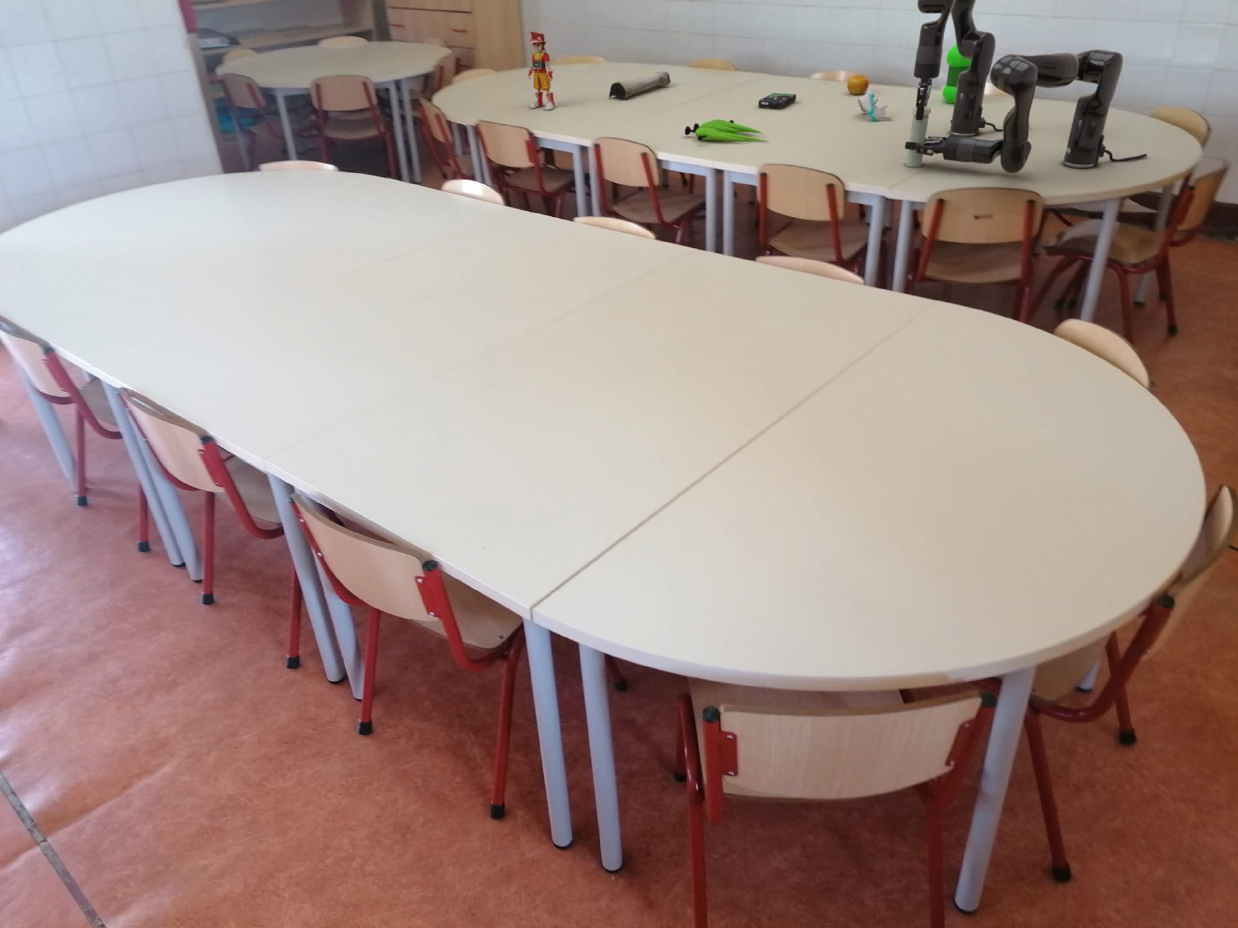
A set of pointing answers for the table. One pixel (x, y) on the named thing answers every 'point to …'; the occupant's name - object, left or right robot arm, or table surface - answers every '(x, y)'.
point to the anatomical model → (872, 107)
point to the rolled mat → (638, 84)
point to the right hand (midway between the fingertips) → (908, 143)
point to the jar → (917, 140)
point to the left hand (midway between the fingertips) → (920, 117)
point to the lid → (926, 110)
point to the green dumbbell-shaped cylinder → (954, 73)
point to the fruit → (857, 84)
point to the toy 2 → (721, 131)
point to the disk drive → (777, 100)
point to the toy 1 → (541, 71)
